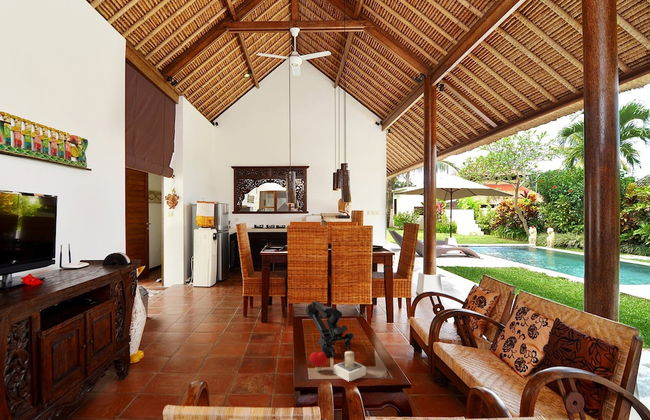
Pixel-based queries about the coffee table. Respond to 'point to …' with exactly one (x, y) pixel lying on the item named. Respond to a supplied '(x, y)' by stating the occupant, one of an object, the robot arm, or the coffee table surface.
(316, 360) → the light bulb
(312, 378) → the coffee table surface
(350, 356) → the beech pin
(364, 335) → the coffee table surface
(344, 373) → the socket block
